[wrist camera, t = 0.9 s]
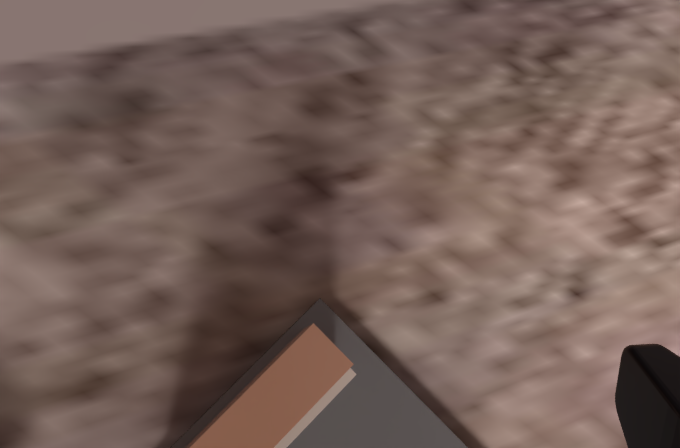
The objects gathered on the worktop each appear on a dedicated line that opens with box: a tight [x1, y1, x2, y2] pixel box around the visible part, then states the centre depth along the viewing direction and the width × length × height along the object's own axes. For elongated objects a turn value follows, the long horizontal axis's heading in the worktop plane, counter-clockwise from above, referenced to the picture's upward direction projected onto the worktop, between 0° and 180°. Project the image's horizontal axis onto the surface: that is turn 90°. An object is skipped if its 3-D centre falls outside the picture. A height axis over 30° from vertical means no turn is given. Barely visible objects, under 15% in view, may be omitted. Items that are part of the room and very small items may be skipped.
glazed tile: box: [185, 323, 357, 448], centre depth 16 cm, size 6×1×6 cm, turn 135°
